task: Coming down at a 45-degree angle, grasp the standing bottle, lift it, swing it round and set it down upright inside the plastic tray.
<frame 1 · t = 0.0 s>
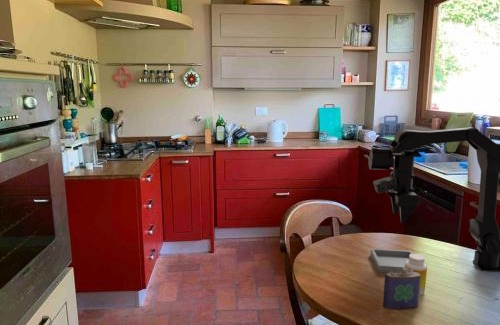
hand: (398, 218, 123), 15 cm above the table, tool pointing down, fingers open, 9 cm apart
tray: (395, 265, 123), on the table
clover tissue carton: (400, 307, 99), on the table
supplement bottle: (413, 291, 107), on the table
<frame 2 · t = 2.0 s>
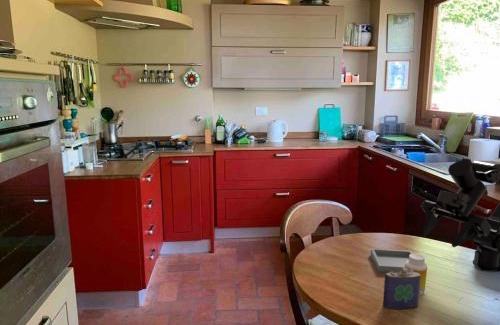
hand: (437, 240, 108), 13 cm above the table, tool tilted 45°, fingers open, 9 cm apart
nothing on the table moved.
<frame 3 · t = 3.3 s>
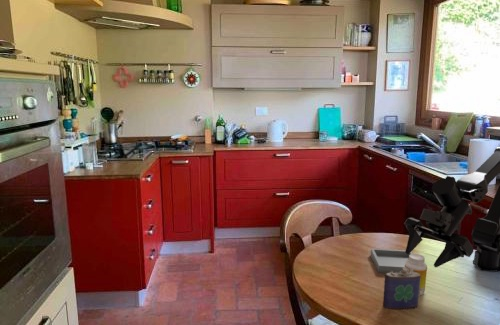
hand: (420, 259, 106), 9 cm above the table, tool tilted 45°, fingers open, 9 cm apart
nothing on the table moved.
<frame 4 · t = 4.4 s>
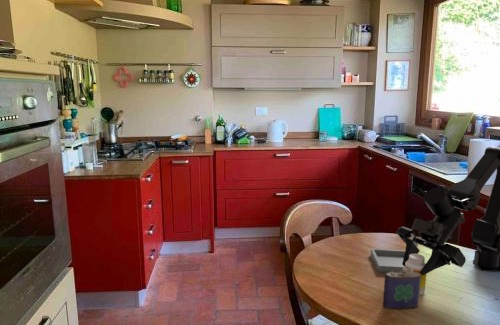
hand: (412, 269, 105), 7 cm above the table, tool tilted 45°, fingers closed on supplement bottle, 5 cm apart
supplement bottle: (413, 291, 107), on the table, touching gripper
everything else where it was.
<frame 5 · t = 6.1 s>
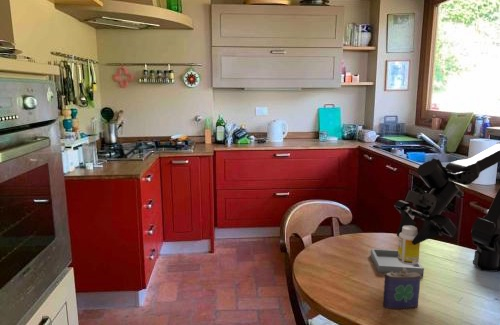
hand: (405, 239, 109), 13 cm above the table, tool tilted 45°, fingers closed on supplement bottle, 6 cm apart
supplement bottle: (407, 262, 110), point 6 cm above the table, touching gripper
everything else where it was.
when the fingers open (9 cm above the table, at t = 8.0 s): supplement bottle drops 1 cm, resting on tray.
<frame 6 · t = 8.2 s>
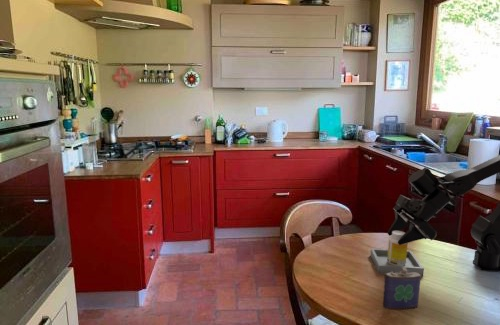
hand: (393, 239, 121), 9 cm above the table, tool tilted 45°, fingers open, 7 cm apart
supplement bottle: (396, 263, 122), point 1 cm above the table, touching tray
everything else where it was.
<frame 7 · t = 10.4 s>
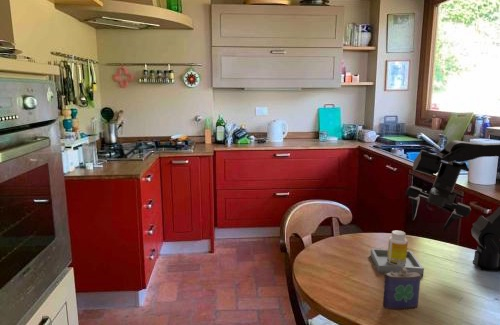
hand: (427, 225, 123), 12 cm above the table, tool tilted 15°, fingers open, 9 cm apart
nothing on the table moved.
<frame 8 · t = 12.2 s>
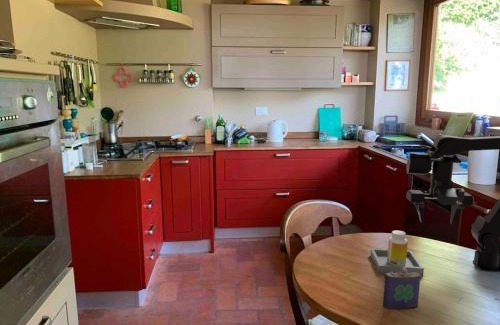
hand: (436, 223, 124), 13 cm above the table, tool pointing down, fingers open, 9 cm apart
nothing on the table moved.
at the end: supplement bottle inside the target area on the tray (0.2 cm from its centre), point 0.6 cm above the tray's base; supplement bottle tilted 0°; the gripper is holding nothing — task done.
